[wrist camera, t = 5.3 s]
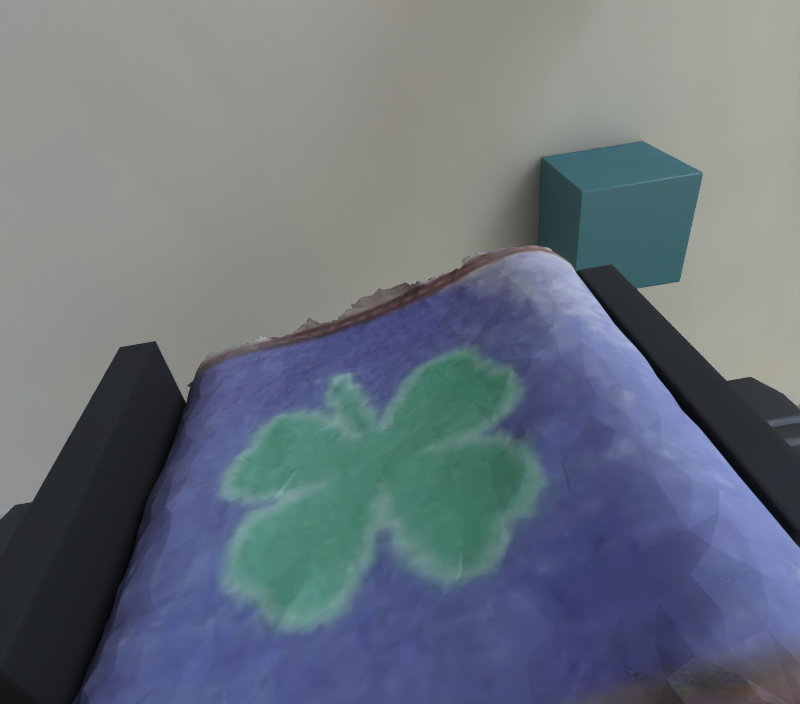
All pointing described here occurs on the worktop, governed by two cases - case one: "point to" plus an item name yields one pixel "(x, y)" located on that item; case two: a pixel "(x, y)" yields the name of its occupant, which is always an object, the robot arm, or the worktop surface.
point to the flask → (450, 519)
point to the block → (619, 210)
